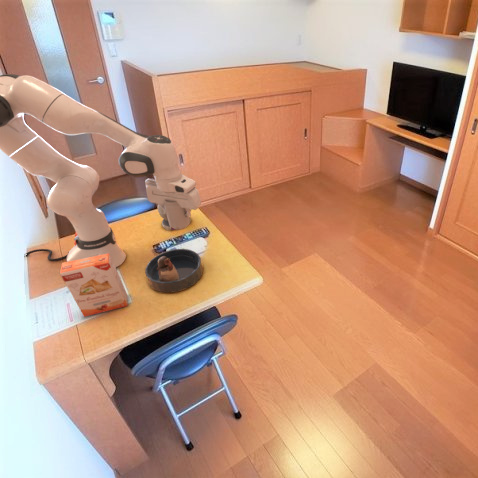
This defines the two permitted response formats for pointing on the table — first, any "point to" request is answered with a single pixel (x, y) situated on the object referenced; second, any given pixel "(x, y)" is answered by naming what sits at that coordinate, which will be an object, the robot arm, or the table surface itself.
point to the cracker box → (94, 284)
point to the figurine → (167, 270)
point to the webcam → (165, 219)
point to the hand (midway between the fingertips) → (177, 214)
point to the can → (176, 215)
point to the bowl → (185, 265)
